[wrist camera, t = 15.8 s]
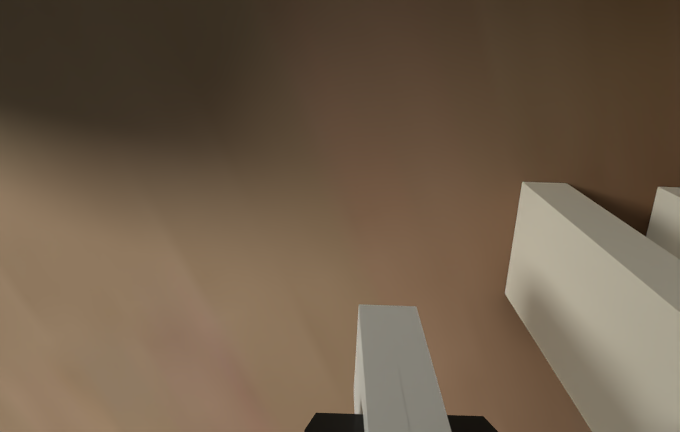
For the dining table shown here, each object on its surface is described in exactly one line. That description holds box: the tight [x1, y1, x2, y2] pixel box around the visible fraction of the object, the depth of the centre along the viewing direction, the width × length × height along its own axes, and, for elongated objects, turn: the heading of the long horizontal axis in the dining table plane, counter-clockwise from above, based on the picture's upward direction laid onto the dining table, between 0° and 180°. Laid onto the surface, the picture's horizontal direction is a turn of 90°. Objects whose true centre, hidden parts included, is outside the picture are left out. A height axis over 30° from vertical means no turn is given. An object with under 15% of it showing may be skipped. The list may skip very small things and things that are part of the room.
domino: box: [505, 182, 680, 432], centre depth 17 cm, size 2×5×12 cm, turn 178°
